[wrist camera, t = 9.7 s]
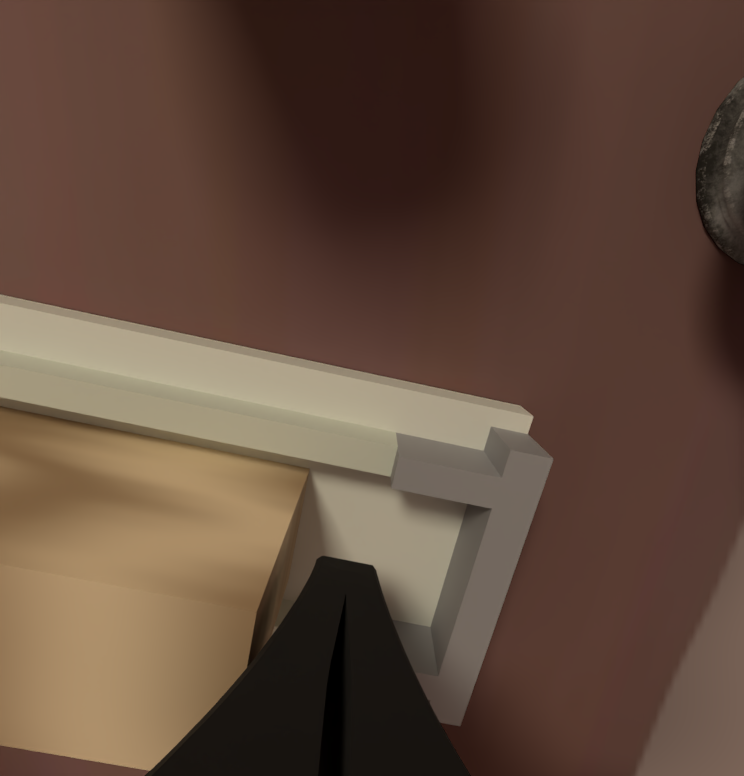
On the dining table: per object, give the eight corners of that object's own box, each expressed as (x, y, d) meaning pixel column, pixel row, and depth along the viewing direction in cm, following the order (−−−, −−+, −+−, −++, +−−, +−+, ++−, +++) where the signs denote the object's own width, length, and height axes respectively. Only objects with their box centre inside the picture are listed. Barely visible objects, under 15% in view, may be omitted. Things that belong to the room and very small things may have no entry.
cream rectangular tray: (-139, 547, 13) (-266, 611, 10) (-169, 258, 11) (-336, 249, 8) (440, 656, 14) (455, 740, 11) (520, 405, 12) (560, 438, 9)
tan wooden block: (-98, 506, 11) (-451, 668, 7) (-107, 384, 11) (-521, 467, 6) (288, 580, 12) (226, 783, 7) (309, 468, 11) (257, 612, 6)
